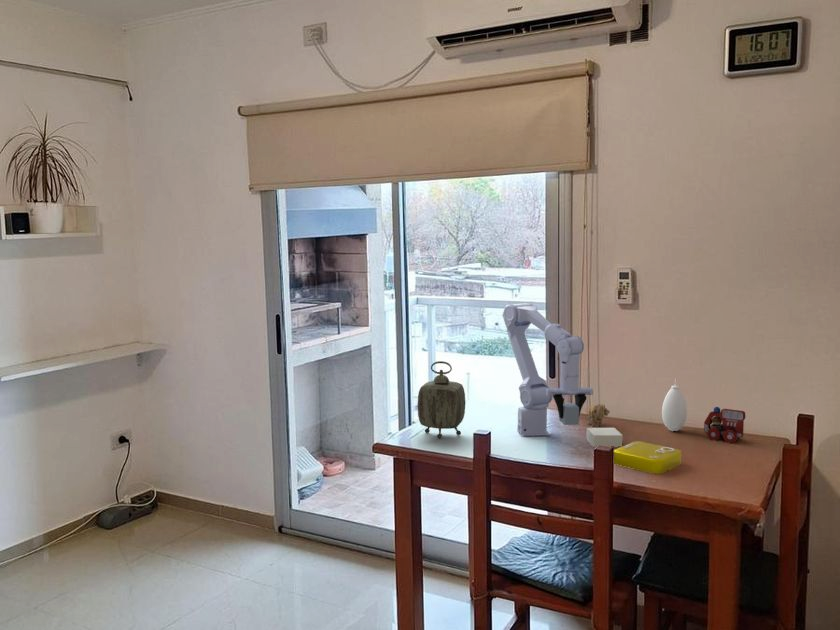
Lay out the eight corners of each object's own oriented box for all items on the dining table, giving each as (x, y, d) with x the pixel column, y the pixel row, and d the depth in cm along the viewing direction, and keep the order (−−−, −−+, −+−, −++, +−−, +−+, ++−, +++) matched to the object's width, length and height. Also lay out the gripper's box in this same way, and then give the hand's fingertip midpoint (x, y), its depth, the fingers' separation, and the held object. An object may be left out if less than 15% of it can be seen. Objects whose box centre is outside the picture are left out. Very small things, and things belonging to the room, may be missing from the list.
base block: (593, 447, 227) (593, 435, 227) (586, 439, 236) (586, 427, 236) (622, 447, 227) (622, 435, 227) (614, 439, 236) (614, 427, 236)
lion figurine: (610, 431, 245) (611, 405, 244) (595, 432, 244) (596, 405, 243) (594, 420, 260) (595, 395, 259) (580, 421, 259) (580, 396, 258)
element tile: (635, 453, 221) (636, 438, 221) (683, 464, 211) (684, 448, 210) (610, 464, 211) (610, 448, 210) (659, 476, 200) (659, 459, 200)
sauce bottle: (689, 430, 246) (691, 378, 244) (680, 435, 240) (683, 381, 238) (666, 426, 251) (668, 375, 249) (657, 431, 245) (659, 378, 243)
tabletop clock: (465, 434, 241) (465, 360, 239) (459, 442, 233) (460, 364, 230) (423, 431, 245) (423, 358, 242) (415, 438, 237) (415, 362, 234)
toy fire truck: (708, 433, 242) (709, 403, 241) (747, 440, 234) (748, 408, 233) (700, 438, 237) (702, 406, 236) (740, 445, 229) (742, 412, 228)
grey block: (564, 424, 227) (564, 407, 226) (559, 420, 233) (559, 403, 232) (578, 424, 227) (579, 407, 227) (573, 419, 233) (573, 402, 233)
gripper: (550, 377, 224) (549, 421, 226) (596, 377, 225) (595, 420, 227) (544, 373, 231) (544, 415, 233) (589, 372, 232) (588, 414, 234)
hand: (568, 417), depth 230 cm, fingers closed on grey block, 4 cm apart
